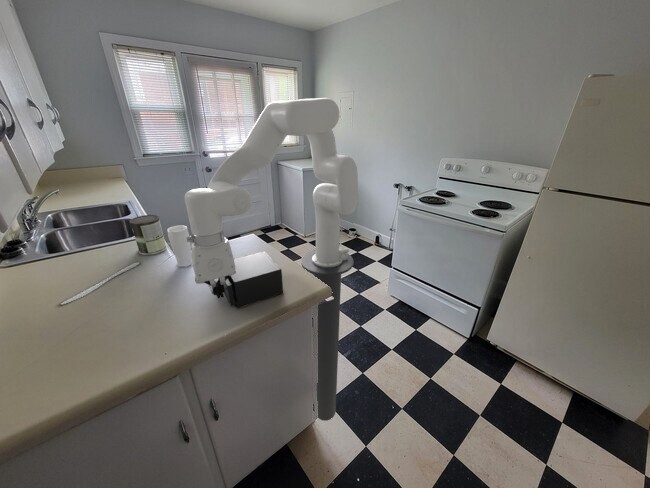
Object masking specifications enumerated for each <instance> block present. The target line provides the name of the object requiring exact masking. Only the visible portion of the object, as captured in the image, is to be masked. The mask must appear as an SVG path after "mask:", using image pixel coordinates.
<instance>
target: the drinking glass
mask: <svg viewBox="0 0 650 488" xmlns="http://www.w3.org/2000/svg"><path fill="white" fill-rule="evenodd" d="M166 233H167V237H168V242H169V243H170V246H171V249H172V252H173V254H174V257H175V260H176V263H177V266H178V267H180V268H186V267H190V266H192V265H193V262H192V252H191V247H192V244H191V242H187V239H186V237H189V236H190V232H189V230H188V226H186V225H184V224H177V225H173V226H170V227H168V228H167V229H166Z"/></svg>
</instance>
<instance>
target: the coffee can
mask: <svg viewBox="0 0 650 488" xmlns="http://www.w3.org/2000/svg"><path fill="white" fill-rule="evenodd" d="M129 225H130V227H131V230H132V233H133V236H134V239H135V243H136V246H137V249H138V253H139V254H140V255H142V256H153V255H156V254H160V253H162V252H164V251H165V250H167V248H168V247H167V244H166V239H165V237H164V233H163V228H162V224H161V220H160V216H159V215H157V214H144V215H140V216H139V215H138V216H135V217H133V218H131V219H130V220H129Z"/></svg>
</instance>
